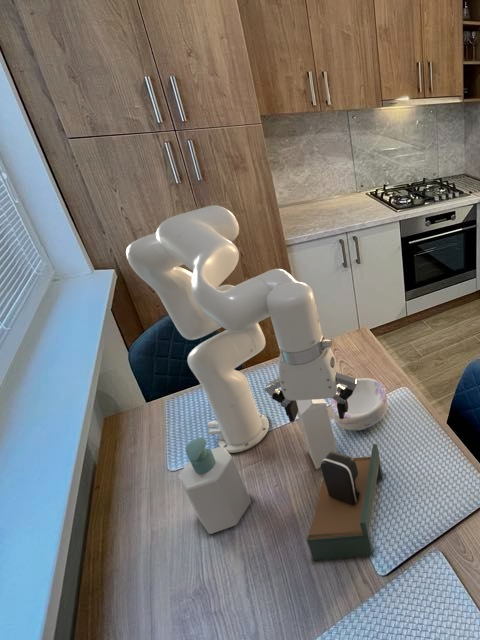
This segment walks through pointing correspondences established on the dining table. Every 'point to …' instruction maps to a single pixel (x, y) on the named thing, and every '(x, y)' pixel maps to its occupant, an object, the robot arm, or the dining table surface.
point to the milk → (316, 429)
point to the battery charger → (340, 477)
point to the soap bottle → (214, 486)
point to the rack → (346, 516)
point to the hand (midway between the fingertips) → (318, 414)
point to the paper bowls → (363, 405)
